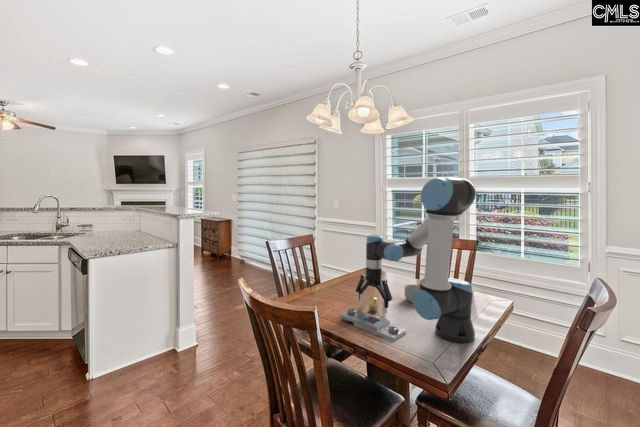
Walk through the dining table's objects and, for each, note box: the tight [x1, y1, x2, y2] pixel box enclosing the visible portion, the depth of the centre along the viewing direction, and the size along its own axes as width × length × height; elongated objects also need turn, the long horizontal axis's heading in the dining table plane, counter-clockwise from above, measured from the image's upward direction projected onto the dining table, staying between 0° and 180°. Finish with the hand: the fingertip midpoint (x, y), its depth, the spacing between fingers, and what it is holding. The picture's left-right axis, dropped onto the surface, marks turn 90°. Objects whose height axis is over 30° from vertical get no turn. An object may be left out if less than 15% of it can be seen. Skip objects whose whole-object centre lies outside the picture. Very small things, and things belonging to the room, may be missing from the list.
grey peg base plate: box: [339, 307, 407, 342], centre depth 142 cm, size 28×10×4 cm, turn 46°
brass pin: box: [368, 296, 378, 315], centre depth 158 cm, size 4×4×7 cm
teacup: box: [403, 284, 420, 304], centre depth 172 cm, size 14×11×8 cm
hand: (373, 310), depth 158 cm, fingers open, 12 cm apart
